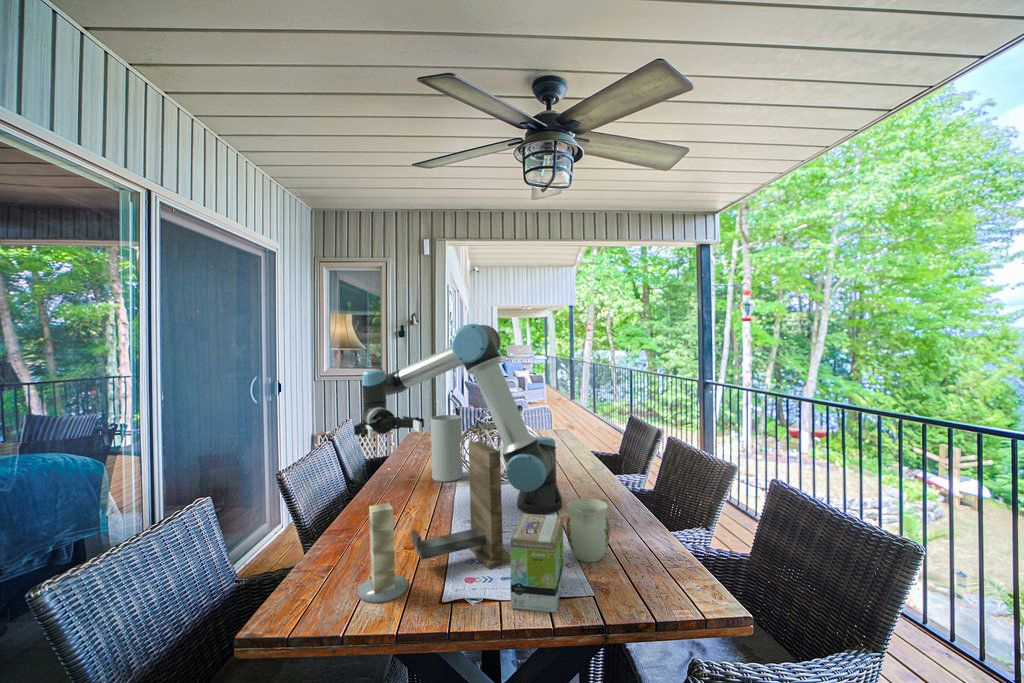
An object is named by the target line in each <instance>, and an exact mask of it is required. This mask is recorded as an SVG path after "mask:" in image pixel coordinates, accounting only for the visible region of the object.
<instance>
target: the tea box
mask: <svg viewBox="0 0 1024 683" xmlns="http://www.w3.org/2000/svg"><path fill="white" fill-rule="evenodd" d="M509 551H510V554H511V563H510V609H517V610H525V611H532V612H533V611H534V612H545V613H556V612H557V609H558V606H559V600H560V595H561V591H562V586H563V580H564V521H563V515H550V514H549V515H548V514H531V513H522V514H521V516H520V518H519V521H518V523H517V525H516V527H515V528H514V531H513V533H512V535H511V537H510V550H509Z"/></svg>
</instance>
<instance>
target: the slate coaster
mask: <svg viewBox="0 0 1024 683" xmlns="http://www.w3.org/2000/svg"><path fill="white" fill-rule="evenodd" d="M408 583H409V582H408V580H407V578H406V577H404V576H402V575H399V574H395V589H391V590H387V591H383V592H380V593H376V594H375V593H374V591H373V588H372V585H371V578H369V579H366V580H365V581H363V582H362V583H361V584H360V585H359V586H358V588H357V597H358V598H359V600H361V601H363V602H366V603H371V604H379V603H385V602H390V601H392V600H396V599H398V598H399V597H401V596H402V595H403V594H405V592H406V591H407V590H408V586H409V584H408Z"/></svg>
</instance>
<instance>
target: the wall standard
mask: <svg viewBox="0 0 1024 683" xmlns="http://www.w3.org/2000/svg"><path fill="white" fill-rule="evenodd" d="M468 464H469V465H468V467H469V468H468V469H469V471H468V472H469V473H468V474H469V501H470V502H469V504H470V505H469V506H470V508H469V509H470V510H469V511H470V512H469V513H470V529H468V530H467V529H466V530H462V531H458V532H454V533H449V534H444V535H440V536H436V537H430V538H427V539H422V536H421V535H420V534H419V532H418V531H417V530H416V529H414V530H411V543H412V545H413V546H414V547H415V552H416V554H417V555H418V557H419V558H420V560H423V561H424V560H427V559H431V558H436V557H440V556H443V555H447V554H452V553H456V552H460V551H464V550H468V549H469V550H470V551H471V552H472V553H473V554H474V555H475V557H476V558H477V559H478V560H479V561H480V562H481V563H482V564H483V565H484V566H485V567H486V568H487V569H488V570H489V569H492V568H497V567H501V566H504V565H508V564H511V553H510V552H508V551H507V550H506V549H505V548H504V546H503V545H504V542H503V514H502V513H503V510H502V509H503V508H502V505H503V504H502V473H501V471H502V470H501V467H502V466H501V451H500V450H498V449H496V448H494V447H492V446H489V445H487V444H486V443H483V442H481V441H473V442H468Z"/></svg>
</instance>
